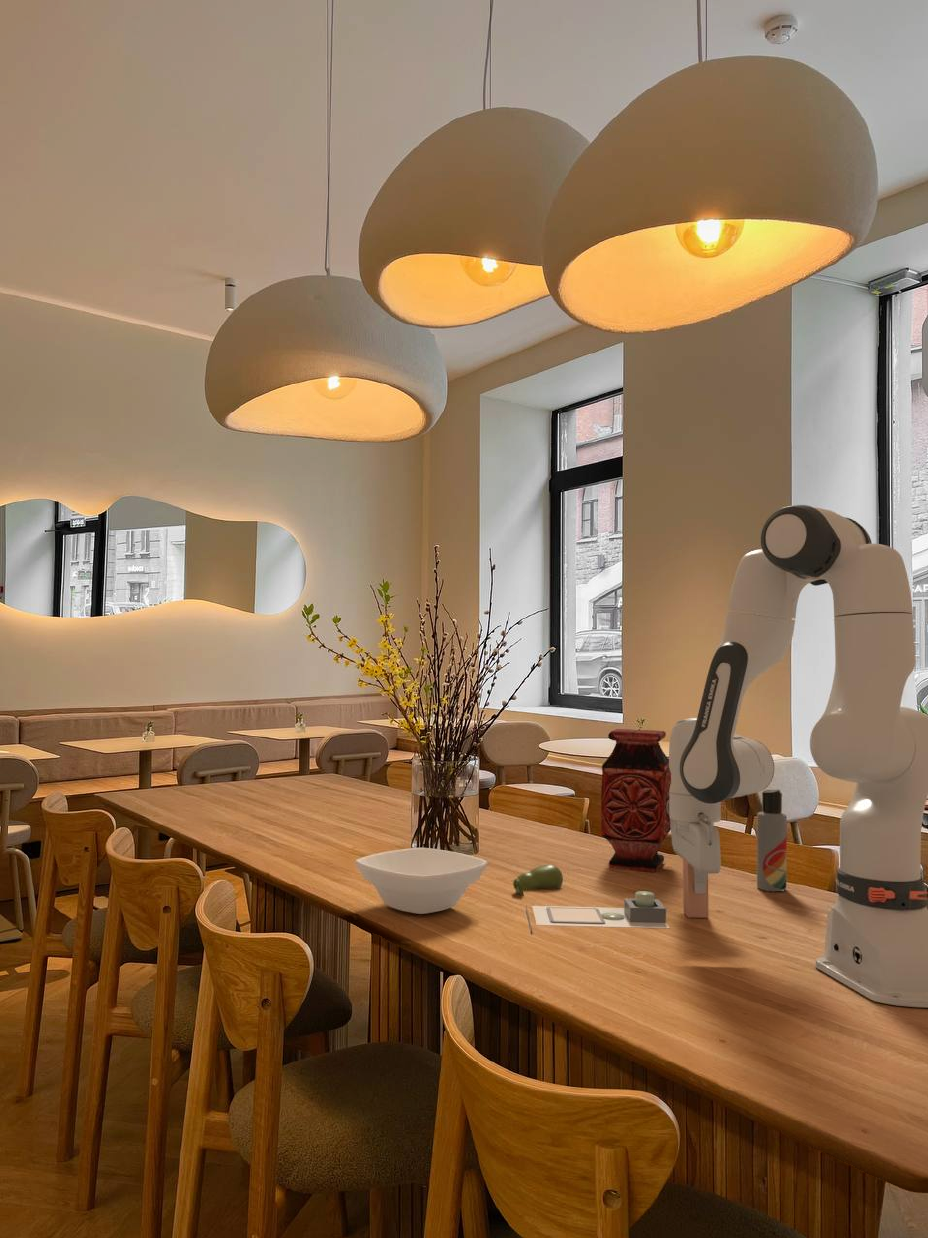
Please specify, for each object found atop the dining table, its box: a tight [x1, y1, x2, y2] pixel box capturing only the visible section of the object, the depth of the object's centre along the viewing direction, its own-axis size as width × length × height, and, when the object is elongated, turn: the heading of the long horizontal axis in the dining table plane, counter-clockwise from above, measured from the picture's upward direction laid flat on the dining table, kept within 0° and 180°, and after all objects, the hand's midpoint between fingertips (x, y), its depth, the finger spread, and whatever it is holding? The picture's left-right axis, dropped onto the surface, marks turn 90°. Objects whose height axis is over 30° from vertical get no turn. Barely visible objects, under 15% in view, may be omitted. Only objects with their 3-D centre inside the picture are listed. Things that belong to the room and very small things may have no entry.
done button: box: [634, 890, 655, 907], centre depth 157 cm, size 3×3×2 cm
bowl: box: [354, 847, 489, 915], centre depth 165 cm, size 21×21×9 cm
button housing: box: [623, 898, 667, 924], centre depth 157 cm, size 6×6×2 cm
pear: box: [512, 864, 564, 897], centre depth 178 cm, size 6×5×10 cm
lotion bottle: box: [756, 789, 788, 892], centre depth 185 cm, size 6×6×20 cm
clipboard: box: [525, 905, 670, 935], centre depth 157 cm, size 14×24×1 cm, turn 90°
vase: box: [600, 728, 671, 873], centre depth 205 cm, size 14×14×30 cm
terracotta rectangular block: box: [682, 858, 710, 918], centre depth 160 cm, size 4×4×12 cm
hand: (695, 889), depth 160 cm, fingers closed on terracotta rectangular block, 3 cm apart
